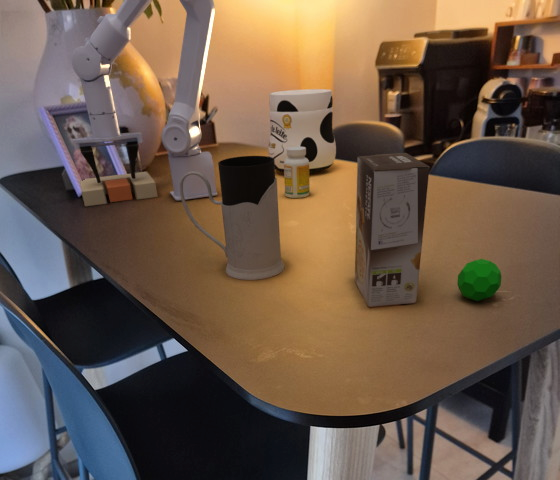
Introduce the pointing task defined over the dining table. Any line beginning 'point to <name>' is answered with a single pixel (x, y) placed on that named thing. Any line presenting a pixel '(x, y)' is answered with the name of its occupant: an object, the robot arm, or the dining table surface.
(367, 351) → the dining table surface
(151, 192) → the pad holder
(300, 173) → the supplement bottle
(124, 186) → the terracotta block
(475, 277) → the polyhedron
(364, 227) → the coffee box
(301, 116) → the milk container
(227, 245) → the glass holder
